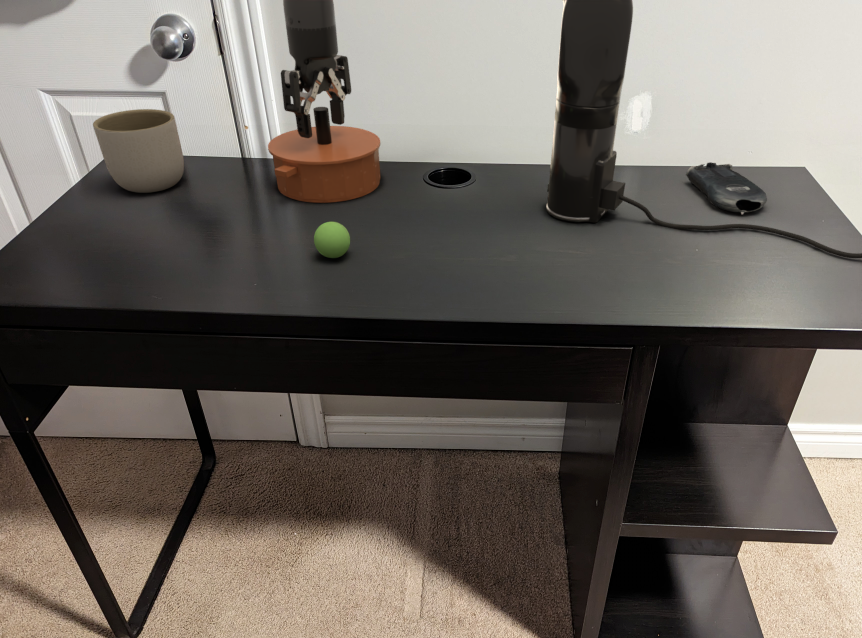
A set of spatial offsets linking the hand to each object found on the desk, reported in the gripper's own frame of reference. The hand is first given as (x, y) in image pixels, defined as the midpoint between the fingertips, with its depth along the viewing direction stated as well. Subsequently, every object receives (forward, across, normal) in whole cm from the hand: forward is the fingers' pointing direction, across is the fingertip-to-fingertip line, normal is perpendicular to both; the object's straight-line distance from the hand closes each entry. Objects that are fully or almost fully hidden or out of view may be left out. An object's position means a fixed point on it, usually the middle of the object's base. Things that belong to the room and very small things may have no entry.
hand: (322, 130), depth 114 cm
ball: (+6, -22, -18) cm, 29 cm away
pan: (+9, 0, 0) cm, 9 cm away
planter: (+9, -16, +26) cm, 32 cm away
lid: (+3, 0, 0) cm, 3 cm away
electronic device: (+9, +28, -62) cm, 69 cm away
